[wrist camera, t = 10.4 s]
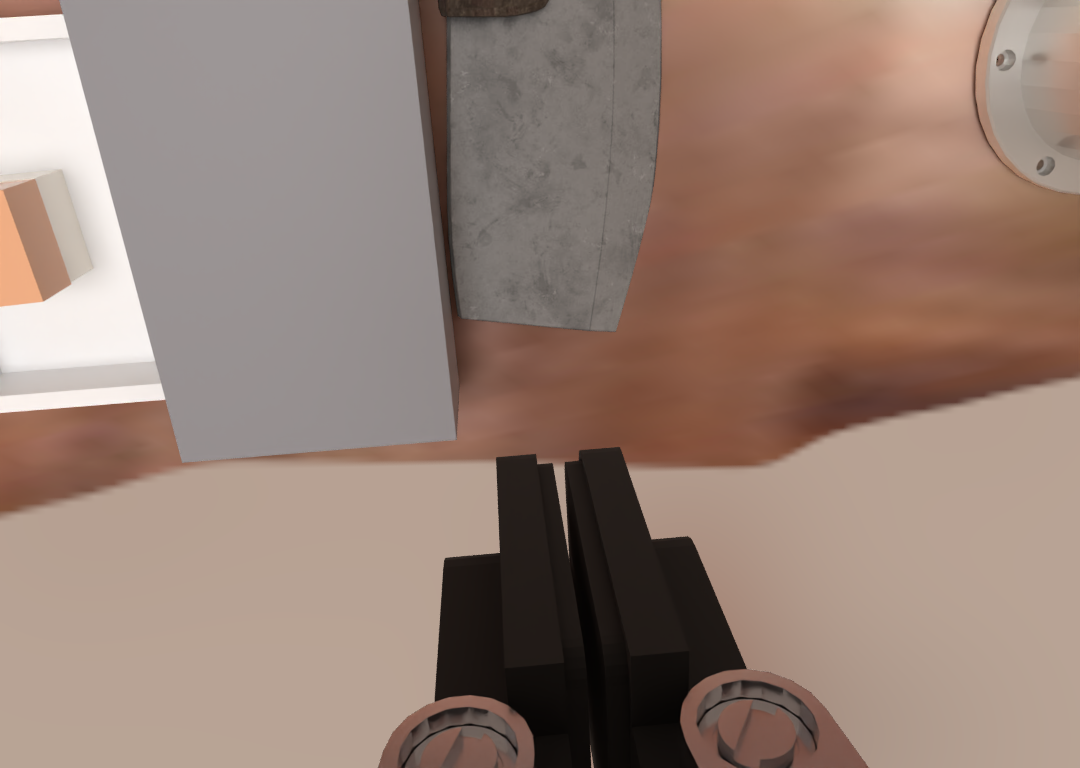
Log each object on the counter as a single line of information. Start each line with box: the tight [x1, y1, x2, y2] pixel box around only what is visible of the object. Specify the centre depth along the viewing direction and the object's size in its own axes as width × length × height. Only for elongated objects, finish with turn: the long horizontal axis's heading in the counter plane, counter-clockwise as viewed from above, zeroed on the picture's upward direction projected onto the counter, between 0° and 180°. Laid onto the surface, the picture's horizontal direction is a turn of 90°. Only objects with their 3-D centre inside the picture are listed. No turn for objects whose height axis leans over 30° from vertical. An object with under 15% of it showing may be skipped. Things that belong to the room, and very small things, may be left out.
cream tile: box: [0, 169, 93, 282], centre depth 35 cm, size 4×4×2 cm
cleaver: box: [438, 0, 661, 332], centre depth 35 cm, size 29×10×2 cm, turn 0°
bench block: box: [59, 0, 459, 463], centre depth 35 cm, size 12×20×6 cm, turn 3°
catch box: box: [0, 14, 165, 413], centre depth 35 cm, size 10×16×4 cm, turn 3°
